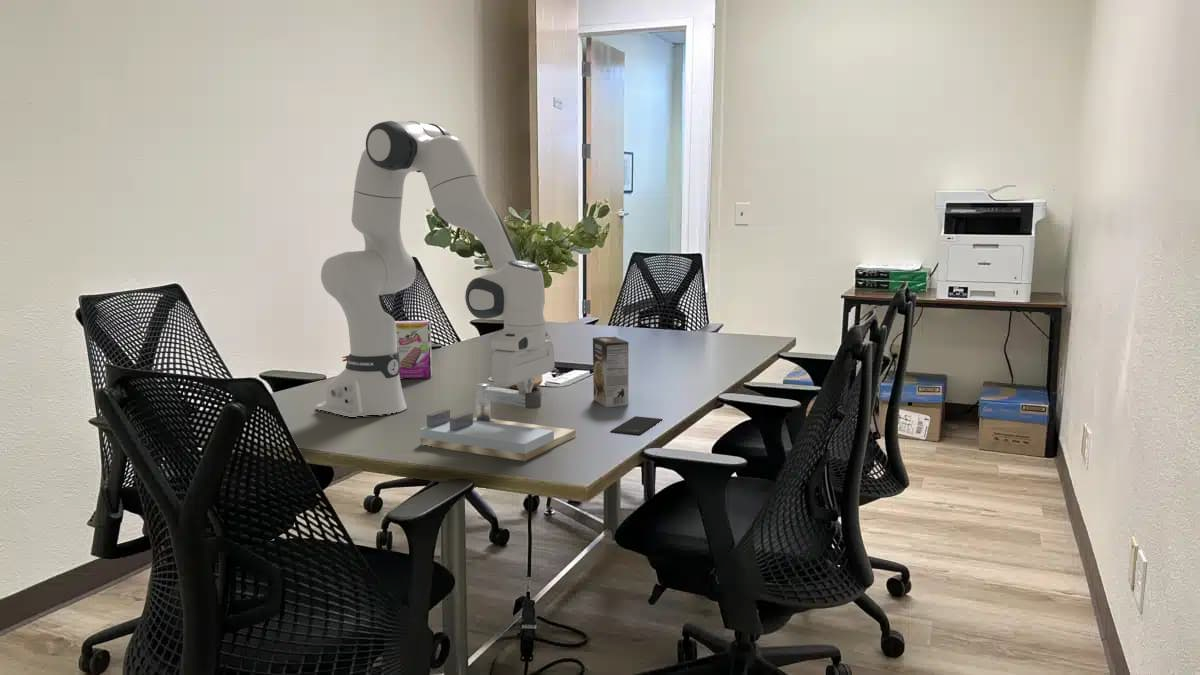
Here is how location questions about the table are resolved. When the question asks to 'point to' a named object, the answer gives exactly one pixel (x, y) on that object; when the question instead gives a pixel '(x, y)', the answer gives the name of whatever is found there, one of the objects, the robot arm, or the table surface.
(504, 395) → the lock bar
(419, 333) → the candy bar box
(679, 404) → the table surface
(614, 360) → the coffee box
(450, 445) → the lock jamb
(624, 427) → the smartphone
